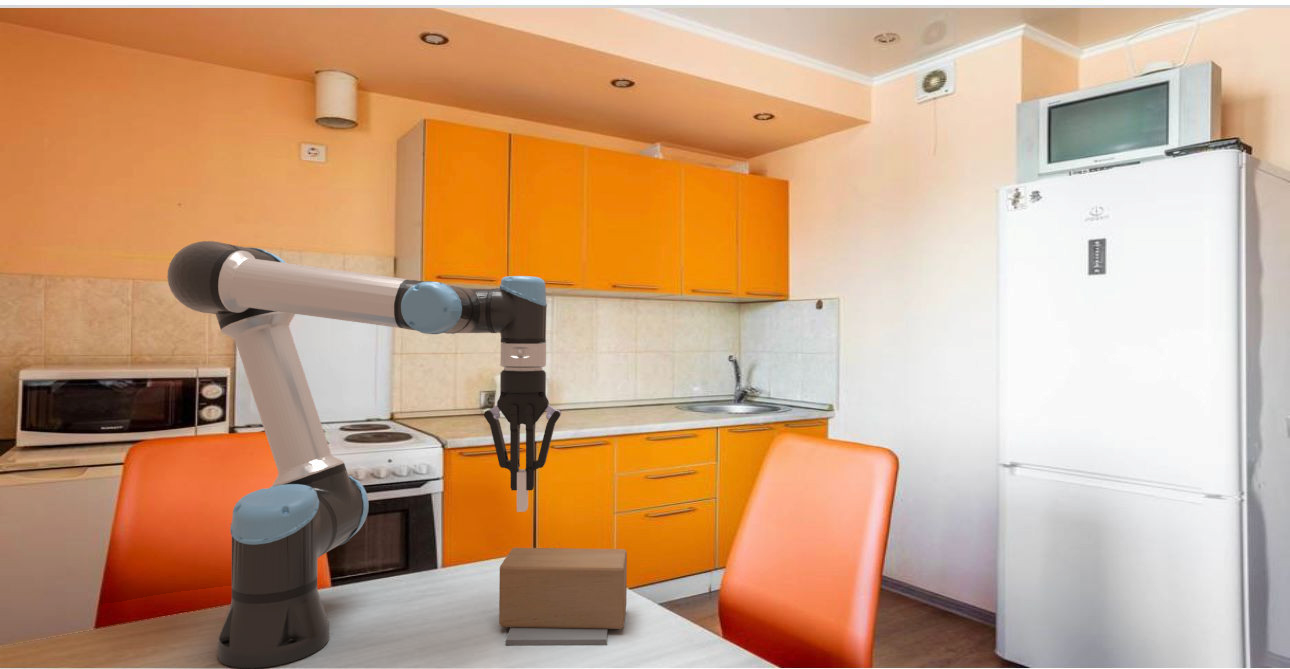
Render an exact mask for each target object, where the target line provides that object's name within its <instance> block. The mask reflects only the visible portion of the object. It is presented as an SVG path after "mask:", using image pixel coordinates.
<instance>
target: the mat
mask: <svg viewBox="0 0 1290 669" xmlns="http://www.w3.org/2000/svg"><path fill="white" fill-rule="evenodd" d="M607 642H608V629H601V628H541V627H509V631H508V634H507V636H506V638H505V646H585V645H586V646H591V645H592V646H594V645H595V646H597V645H598V646H604V645H606V646H607Z"/></svg>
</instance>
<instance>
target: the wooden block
mask: <svg viewBox="0 0 1290 669" xmlns="http://www.w3.org/2000/svg"><path fill="white" fill-rule="evenodd" d="M627 554H628V552H627V550H626V549H624V548H617V549H616V548H569V547H568V548H565V547H563V548H562V547H559V548H558V547H557V548H554V547H553V548H552V547H550V548H549V547H513V548H511V549H510V551H509V552H508V554H507V556H506V557H505V559H504V560H503V561H502V563H501V564H500V566H499V598H498V602H499V606H498V607H499V608H498V610H499V611H498V612H499V613H498V614H499V615H498V616H499V621H498V623H499V627H502V628H511V627H541V628H601V629H611V630H613V629H614V630H618V629H619V630H621V629H623V628H624V626H625V617H626V611H627V594H628V593H627V592H628V591H627V586H628V585H627V581H628V580H627V577H628V575H627V573H628V569H627V568H628V566H627V564H628V563H627V562H628V560H627V559H628V558H627V556H628V555H627Z"/></svg>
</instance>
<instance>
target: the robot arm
mask: <svg viewBox="0 0 1290 669" xmlns="http://www.w3.org/2000/svg"><path fill="white" fill-rule="evenodd" d="M166 277H167V283H168V286H169V289H170V291H171V293H172V294H173V296H174V297H175V298H176V299H177V300H178V302H179V303H181V304H182V305H184V306H185V307H186V308H189V309H190V310H192V311H196V312H199V313H204V314H212V315H215V316H216V320H217V322H218V325H219V328H220V332H221V333H222V334H223V335H225V336H227V337H230V338H231V339H233V340H234V341H235V342H234V343H235V344H236V348H237V351H238V354H239V356H240V359H241V362H242V366H243V369H244V372H245V374H246V378H247V381H248V384H249V387H250V390H251V393H252V396H253V400H254V402H255V405H256V408H257V412H258V415H259V418H260V420H261V423H262V427H263V430H264V433H265V436H266V438H267V442H268V444H269V447H270V451H271V453H272V457H273V460H274V463H275V466H276V469H277V472H278V473H277V477H276V479H275V480H274V481H273V484H272V486H269V487H268V488H260V489H258V490H257V489H256V490H255V491H252V492H250V493H247V494H246V495H244V496H242V497H241V498H240V499H239V500H238V501H237V502H236V503H235V505H234V506H233V509H232V518H231V523H230V536H231V603H230V605H229V609H228V611H227V613H226V617H225V620H224V623H223V625H222V628H221V631H220V634H219V637H218V638H217V639H218V640H217V659H218V661H219V662H220V663H221V664H223V665H226V666H228V667H231V668H239V669H260V668H268V667H276V666H280V665H284V664H289V663H291V662H296V661H298V660H301V659H303V658H307V657H308V656H310V655H312V654H315V653H316V652H318V651H319V650H321V649H322V648H323V647H325V645H327V643H328V642H329V640H330V621H329V618H328V614H327V613H326V610H325V607H324V605H323V601H322V599H321V596H320V594H319V589H318V559H319V558H320V557H322V556H323V555H325V554H326V553H328V552H330V551H331V550H333V549H335V548H337V547H339V546H342V545H344V544H346V543H347V542H348V541H349V540H350V539H351V538H352V537H354V536H355V535H356V534H357V533H358V532H359V531H360V530H361V528H362V527H363V525H364V523H365V522H366V520H367V516H368V514H369V507H370V506H369V505H370V504H369V496H368V494H367V491H366V489H365V486H364V485H362V484H363V483H361V482H360V481H359V480H358V479H355V478H354V477H353V476H351V475H349V474H348V470H347V468H346V465H345V461H344V460H342V459H340V458H337V457H335V456H334V455H332V453H331V450H330V446H329V444H328V440H327V437H326V434H325V432H324V429H323V425H322V423H321V418H320V416H319V413H318V411H317V408H316V404H315V402H314V398H313V395H312V392H311V390H310V387H309V383H308V379H307V377H306V374H305V371H304V368H303V365H302V362H301V358H300V356H299V352H298V350H297V347H296V343H295V341H294V338H293V335H292V332H291V329H290V323H291V322H292V320H294V317H295V316H296V315H301V316H308V317H309V316H310V317H316V318H323V319H324V318H325V319H331V320H338V321H347V322H352V323H361V324H369V325H376V326H384V327H390V328H398V329H404V330H410V331H416V332H419V333H421V334H425V335H427V334H428V335H440V334H447V335H448V334H451V335H455V334H500V364H499V365H500V366H501V367H502V368H503V370H501V372H500V378H499V380H500V381H499V382H500V384H499V390H500V393H499V394H500V395H499V397H498V398H497V402H496V405H495V406H494V407H492V408H490V409H488V410H485V411H484V412H483V418H484V419H485V420H486V421H487V423H488V425H489V427H490V431H491V436H492V440H493V443H494V444H493V445H494V448H495V453H496V456H497V460H498V465H499V467H500V468H501V469H506V470H507V471H508V470H509V472H510V490H511V491H516V512H517V513H519V512H521V513H523V512H524V513H525V512H526V511H527V510H528V508H529V491H533V490H534V488H535V483H536V482H535V479H536V478H535V477H536V476H535V471H536V470H538V469H542V468H544V466H545V465H546V462H547V457H548V454H549V450H550V445H551V441H552V437H553V434H554V430H555V426H556V423H557V421H558V420H559V418H560V417H561V416H562V410H560V409H556V408H554V407H553V406H551V405H550V403H549V402H550V401H549V399H548V397H547V392H546V391H547V389H546V388H547V382H546V381H547V372H546V371H545V370H544V369H543V368H545V367H546V366H547V339H546V338H547V337H546V336H547V335H546V334H547V307H548V303H547V294H546V293H547V292H546V282H545V281H544V279H542V278H541V277H538V276H528V275H526V276H525V275H514V276H513V275H512V276H511V275H510V276H503V277H502V278H501V280H500V285H499V287H496V288H470V287H469V288H466V287H461V286H455V285H449V284H445V283H443V282H437V281H430V280H429V281H428V280H427V281H423V280H416V279H407V278H401V277H394V276H385V275H378V274H371V273H364V272H355V271H350V270H343V269H342V270H340V269H333V268H326V267H319V266H318V267H317V266H311V265H310V266H309V265H304V264H294V263H290V262H288V263H287V262H286V261H285V260H284V259H282V258H281V257H280V256H278V255H276V254H275V253H271V252H269V251H266V250H264V249H262V248H259V247H258V248H256V247H249V246H248V247H245V246H239V245H235V244H230V243H223V242H220V241H213V240H210V241H209V240H208V241H205V240H204V241H197V242H193V243H191V244H188V245H186V246H185V247H183V248H181V249H180V250H179V251H178V252H177V253H176V254H175V255H174V256H173V257H172V259H171V261H170V263H169V266H168V269H167V276H166ZM544 413H546V414H545V419H546V420H547V423H546V425H545V429H544V432H543V433H544V434H543V437H542V441H541V444H540V448H539V449H540V450H539V452H538V454H539V455H538V456H537V457H538V458H537V459H536V423H537V422H538V421H539V420H540V418H541V417H542V415H544ZM501 414H502V415H503V416H504V418H505V419H506V420H507V422H508V423H509V430H510V431H509V432H510V438H509V440H510V442H509V443H510V446H509V447H510V448H509V449H510V450H509V451H510V452H509V455H510V456H509V455H508V452H507V448H506V443H505V439H504V435H503V430H502V426H501V422H500V420H499V419H500V417H501ZM521 425H525V468H522V469H520V467H521V461H520V460H521V458H520V457H521V456H520V452H521V450H520V448H521V446H520V445H521V444H520V443H521ZM509 458H510V459H509Z"/></svg>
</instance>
